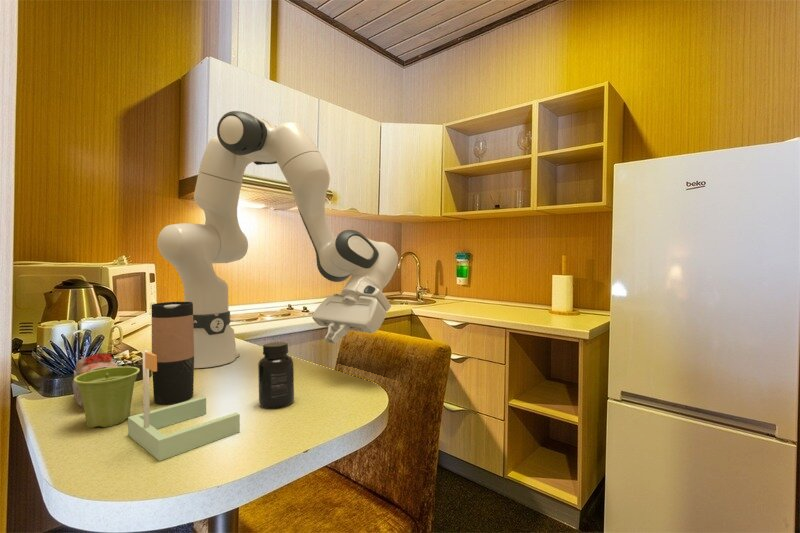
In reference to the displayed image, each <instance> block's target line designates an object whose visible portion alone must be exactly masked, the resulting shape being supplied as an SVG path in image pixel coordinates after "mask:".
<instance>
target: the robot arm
mask: <svg viewBox="0 0 800 533" xmlns="http://www.w3.org/2000/svg"><path fill="white" fill-rule="evenodd" d="M251 163H253V164H255V166H256V165H257V166H259V165H276V164H278V166H279V169H280V171H281V172H282V175H283V176H284V178H285V180H286V183H287V184H288V186H289V189H290V190H291V194H292V196H293V198H294V201H295V203H296V207H297V210H298V213H299V215H300V218H301V220H302V223H303V226H304V227H305V230H306V232H307V235H308V236H309V239H310V241H311V243H312V246H313V248H314V252H315V256H316V257H315V258H316V268H317V269H318V272H319V273H320V275H321V276H322V277H324V278H325V280H328V281H331V282H334V283H340V282H344V281H346V280H348V278H349V280H348V281H347V283H346V284H345V285H344V287H343V289H342V290H341V292H340V293H341V294H339V293H334V294H333V295H330V296H327V297H326V298H325V299H323V301H322V302H320V304H319V305H318V306H317V307H316V309H315V310H314V312H312V315H311V318H312V320H313V321H314V322H315V323H316V324H317V325H318V326H322V327H327V334H326V335H325V336H324V340H325V341H326V342H327V343H328V344H333V345H334V344H335V345H337V344H338V343H339V341H340V340H341V339H342V338H343V337H345V336H346V335H348V334H349V332H350V331H354V332H360V333H366V334H375V333H376V332H377V331H378V330H380V328H381V326H382V324H383V322H384V321H385V319H386V316H387V312H389V310H390V309H391V306H392V305H391V302H389V299H388V298H387V297H386V295H385V294H384V293H383V290H384V289H385V287H386V286H387V285H388V284H389V282H390V281H391V279H392V278H393V275H394V273H395V271H396V269H397V267H398V264H399V256H398V252H397V251H396V249H395V248H394V247H393V246H392V245H391V244H389V243H387V242H385V241H376V240H373V239H370V238H368V237H366V235H364V234H363V233H361V232H360V231H357V230H355V229H345V230H342V231H341V232H340V233H338V235H337V236H335V235H334V233H333V231H332V228H331V225H330V223H329V221H328V219H327V216H326V211H325V209H326V208H325V206H326V198H327V194H328V190H329V186H330V181H331V176H330V172H329V169H328V165H327V163H326V161H325V159H324V157H323V156H322V154H321V151H320V150H319V148H318V146H317V145H316V143H315V142H314V141H313V139H312V138H311V136H310V135H309V133H307V131H306V130H305V129H304V128H303V126H302V125H301V124H299V123H297V122H295V121H292V122H291V121H287V122H283V123H281V124H278V125H277V126H275V125H274V124H272V123H271V122H269V121H268V120H265V119H264V118H260V117H258V116H254V115H252V114H250V113H248V112H245V111H239V110H232V111H228V112H226V113H225V114H223V115H222V116H221V118H220V119H219V121H218V123H217V127H216V136H213V137H211V138H210V139H209V141H208V143H207V145H206V147H205V150H204V152H203V155H202V158H201V161H200V165H199V170H198V174H197V178H196V183H195V188H194V194H193V200H194V202H195V204H196V205H197V206H198V208H200V210H203V212H204V217H205V218H204V219H205V220H204V221H205V222H204V224H202V223H191V222H190V223H189V222H182V223H174V224H168V225H166V226H164V227H163V228H162V230H160V232H159V234H158V237H157V242H156V244H157V249H158V251H159V254H160V255H161V257H163V259H164V260H165V261H167V262H169V263H170V265H172V266H173V268H174V269H175V270H176V271H177V273H178V275H179V277H180V280H181V282H182V285H183V294H184V302H192V303H193V328H194V369H205V368H212V367H218V366H222V365H226V364H229V363H232V362H234V361H235V360H236V358H238V357H240V356H241V353H240V351H237V348H236V336H235V330H234V328H232V327H231V325H230V324H231V319H232V318H231V317H232V316H231V311H230V310H229V285H228V283H227V282H226V281H225V280H224V279H222V278H221V277H219V276H218V274H216V272H215V269H214V265H213V264H229V263H233V262H237V261H240V260H242V259H243V258H244V257H245V256H246V254H247V252H248V249H249V242H248V239H247V236H246V235H245V233H244V232H243V231H242V229H241V227H240V224H239V223H240V222H239V218H238V205H239V199H240V193H241V188H242V185H243V181H244V180H243V178H244V174H245V171H246V168H247V167H248V166H249V164H251ZM350 276H351V277H350Z"/></svg>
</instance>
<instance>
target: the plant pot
mask: <svg viewBox="0 0 800 533" xmlns="http://www.w3.org/2000/svg"><path fill="white" fill-rule="evenodd" d="M138 374H140V368H139V367H137V366H119V367H112V368H105V369H99V370H94V371H90V372H87V373H83V374H81V375H78V376H77V377H75V378H74V377H73V379H74V382H75V383H77V385H78V388H79V390H80V391H81V396H82V401H83V406H84V409H83V410H84V415H85V421H86V426H87V427H89V428H96V427H101V428H108V427H112V426H115V425H119V424H121V423H123V422H125V420H127V419H128V417H130V414H131V406H132V401H133V392H134V388H135V387H134V386H135V381H137V377H138Z"/></svg>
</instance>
